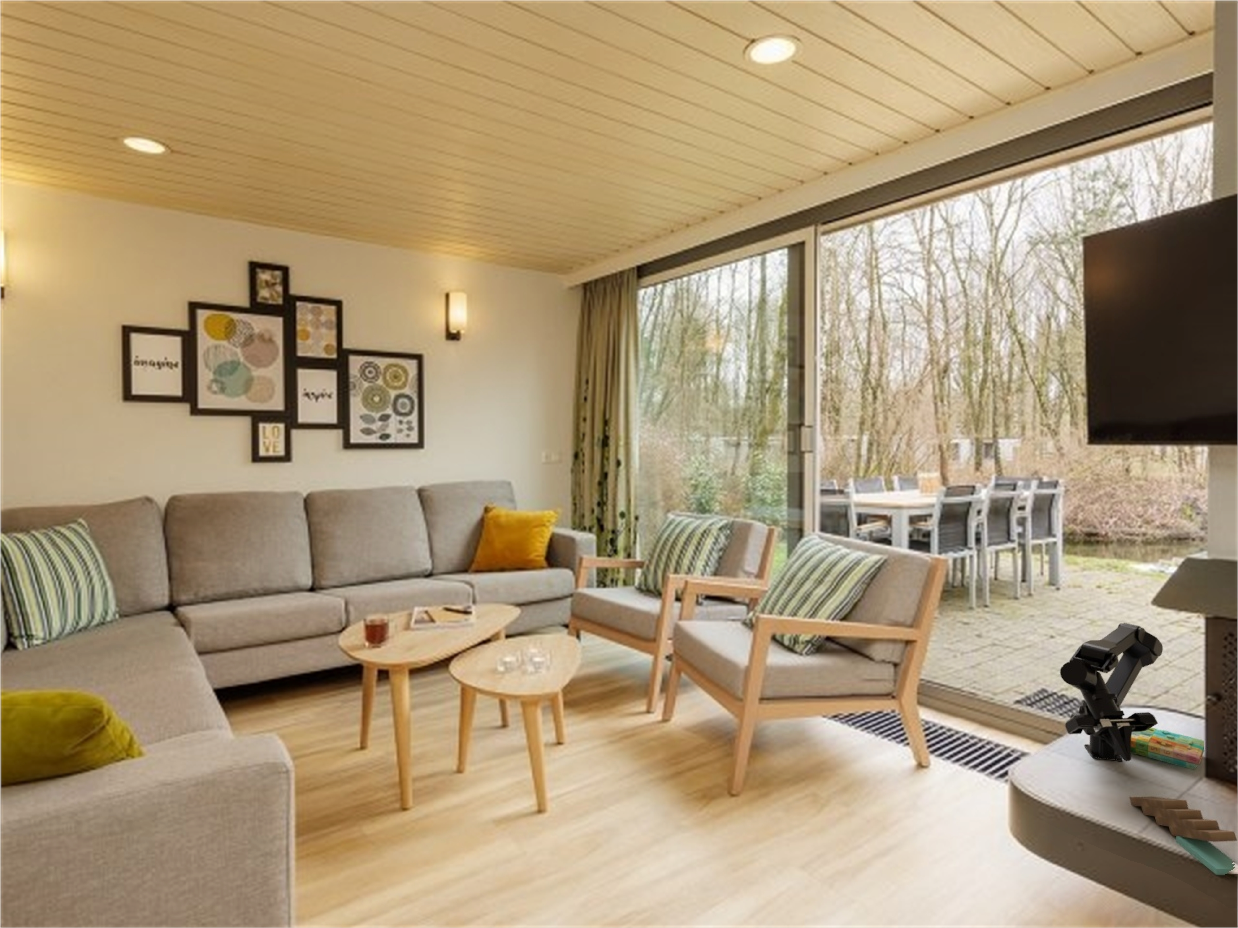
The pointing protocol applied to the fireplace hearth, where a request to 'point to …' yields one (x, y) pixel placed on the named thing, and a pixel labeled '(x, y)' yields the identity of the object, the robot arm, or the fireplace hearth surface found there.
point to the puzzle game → (1168, 747)
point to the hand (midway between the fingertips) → (1128, 760)
